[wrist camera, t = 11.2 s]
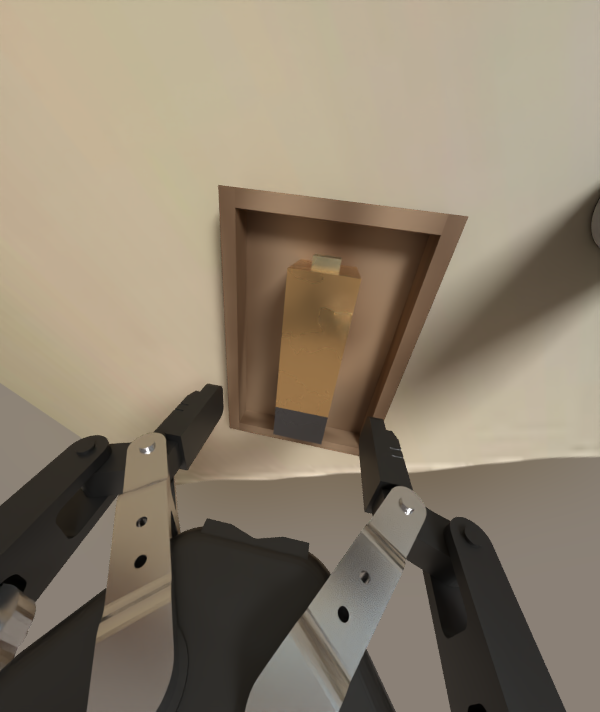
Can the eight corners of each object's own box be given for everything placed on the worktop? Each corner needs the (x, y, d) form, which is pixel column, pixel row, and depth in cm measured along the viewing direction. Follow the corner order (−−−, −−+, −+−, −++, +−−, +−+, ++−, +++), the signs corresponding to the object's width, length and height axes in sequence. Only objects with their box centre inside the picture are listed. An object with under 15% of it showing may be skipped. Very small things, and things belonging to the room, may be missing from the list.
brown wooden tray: (239, 411, 25) (229, 427, 23) (235, 191, 15) (218, 185, 13) (366, 437, 24) (368, 458, 22) (449, 218, 14) (468, 216, 12)
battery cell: (285, 399, 23) (273, 434, 19) (301, 248, 16) (288, 253, 12) (325, 407, 22) (321, 444, 18) (359, 256, 16) (364, 264, 12)
